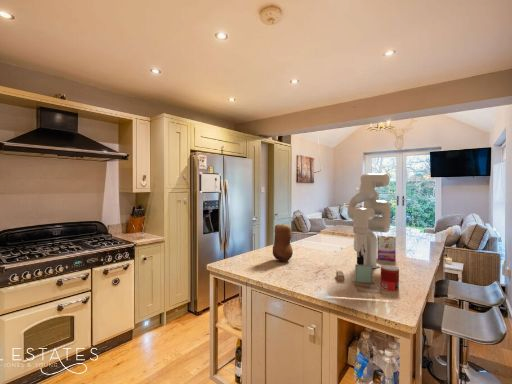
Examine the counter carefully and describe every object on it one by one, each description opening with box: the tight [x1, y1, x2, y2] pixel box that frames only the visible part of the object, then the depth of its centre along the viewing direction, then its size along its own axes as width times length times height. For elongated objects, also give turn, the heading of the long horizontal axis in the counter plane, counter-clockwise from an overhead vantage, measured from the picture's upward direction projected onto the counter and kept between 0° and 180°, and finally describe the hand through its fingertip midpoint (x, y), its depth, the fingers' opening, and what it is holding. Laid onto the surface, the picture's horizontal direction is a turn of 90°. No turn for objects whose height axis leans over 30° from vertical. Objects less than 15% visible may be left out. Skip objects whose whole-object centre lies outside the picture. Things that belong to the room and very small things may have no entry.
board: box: [351, 280, 383, 294], centre depth 132 cm, size 15×11×1 cm
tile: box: [354, 263, 373, 284], centre depth 138 cm, size 2×8×9 cm, turn 81°
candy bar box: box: [376, 234, 397, 262], centre depth 186 cm, size 11×5×16 cm, turn 73°
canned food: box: [380, 264, 400, 292], centre depth 131 cm, size 8×8×11 cm
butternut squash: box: [272, 223, 294, 263], centre depth 181 cm, size 14×13×25 cm
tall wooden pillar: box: [335, 269, 345, 282], centre depth 147 cm, size 14×6×4 cm, turn 171°
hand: (360, 264), depth 146 cm, fingers closed
